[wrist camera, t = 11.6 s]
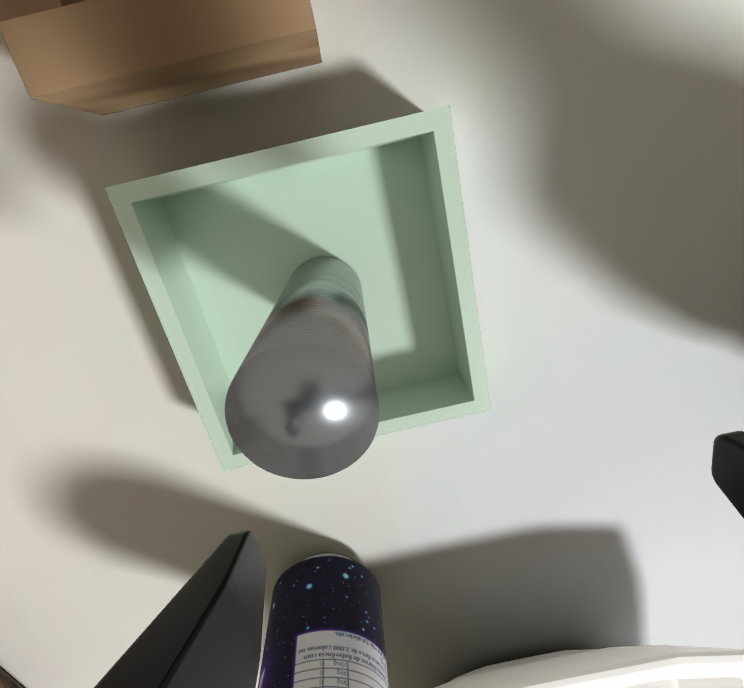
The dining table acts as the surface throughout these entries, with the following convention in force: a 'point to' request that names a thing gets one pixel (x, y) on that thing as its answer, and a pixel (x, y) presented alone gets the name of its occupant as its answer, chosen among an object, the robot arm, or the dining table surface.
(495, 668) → the bowl
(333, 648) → the beverage can
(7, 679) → the dark brown ornamental box
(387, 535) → the dining table surface
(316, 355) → the cylinder
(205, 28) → the brown square sleeve
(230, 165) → the tray
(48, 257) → the dining table surface
